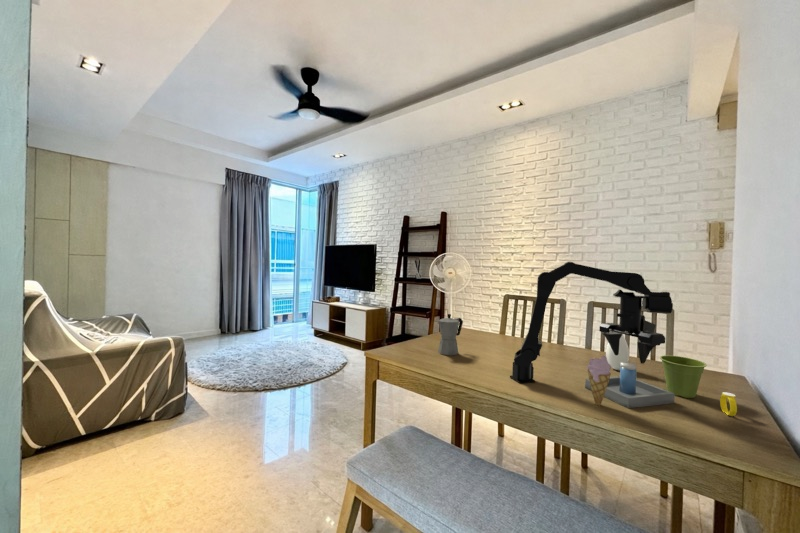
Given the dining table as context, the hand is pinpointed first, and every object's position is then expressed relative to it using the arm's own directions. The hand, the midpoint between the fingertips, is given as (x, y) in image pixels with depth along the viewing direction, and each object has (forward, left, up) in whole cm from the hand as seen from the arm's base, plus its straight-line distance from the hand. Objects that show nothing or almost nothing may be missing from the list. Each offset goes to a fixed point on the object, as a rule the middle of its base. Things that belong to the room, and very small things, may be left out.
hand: (628, 359), depth 108 cm
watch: (+17, -17, -12) cm, 27 cm away
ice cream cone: (-16, -4, -12) cm, 21 cm away
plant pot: (+19, -3, -12) cm, 23 cm away
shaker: (0, 0, -11) cm, 11 cm away
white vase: (+20, +22, -12) cm, 32 cm away
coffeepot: (-38, +57, -12) cm, 70 cm away
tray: (0, 0, -12) cm, 12 cm away
